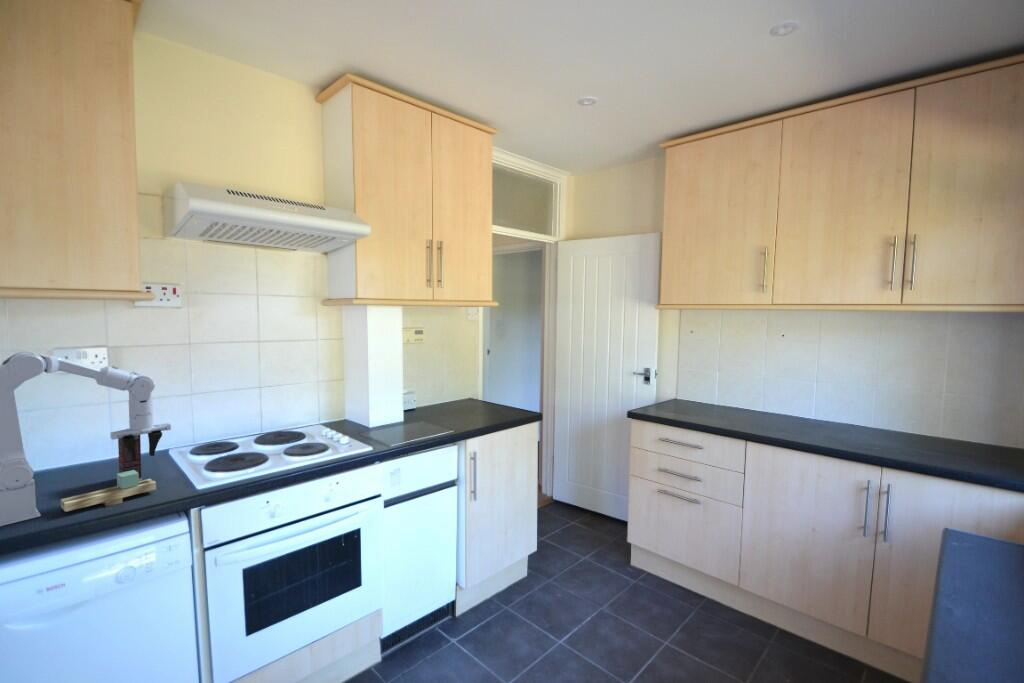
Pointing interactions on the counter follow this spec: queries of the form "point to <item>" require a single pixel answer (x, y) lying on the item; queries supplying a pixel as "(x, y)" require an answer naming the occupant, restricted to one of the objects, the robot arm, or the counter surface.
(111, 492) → the beam
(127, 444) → the robot arm
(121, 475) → the block
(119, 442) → the supplement box
